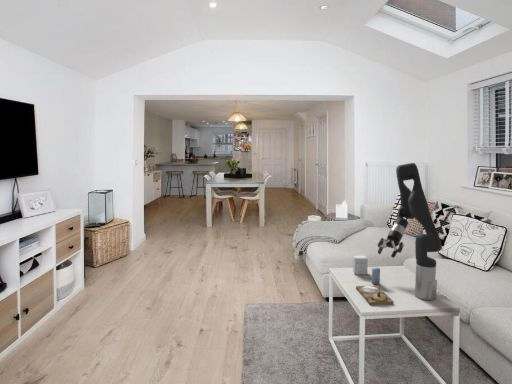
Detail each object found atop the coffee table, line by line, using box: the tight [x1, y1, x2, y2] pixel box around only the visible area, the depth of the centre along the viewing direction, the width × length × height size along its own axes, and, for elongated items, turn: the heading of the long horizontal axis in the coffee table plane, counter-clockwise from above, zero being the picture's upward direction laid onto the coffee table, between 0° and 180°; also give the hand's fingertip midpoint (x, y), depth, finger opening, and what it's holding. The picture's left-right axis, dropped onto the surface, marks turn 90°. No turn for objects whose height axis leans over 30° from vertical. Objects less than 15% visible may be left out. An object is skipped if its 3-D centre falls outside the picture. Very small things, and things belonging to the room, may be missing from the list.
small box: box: [352, 255, 369, 275], centre depth 207 cm, size 8×6×10 cm
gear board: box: [355, 285, 394, 306], centre depth 173 cm, size 20×12×5 cm, turn 2°
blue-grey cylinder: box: [371, 266, 381, 286], centre depth 190 cm, size 4×4×9 cm
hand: (385, 255), depth 195 cm, fingers open, 8 cm apart
